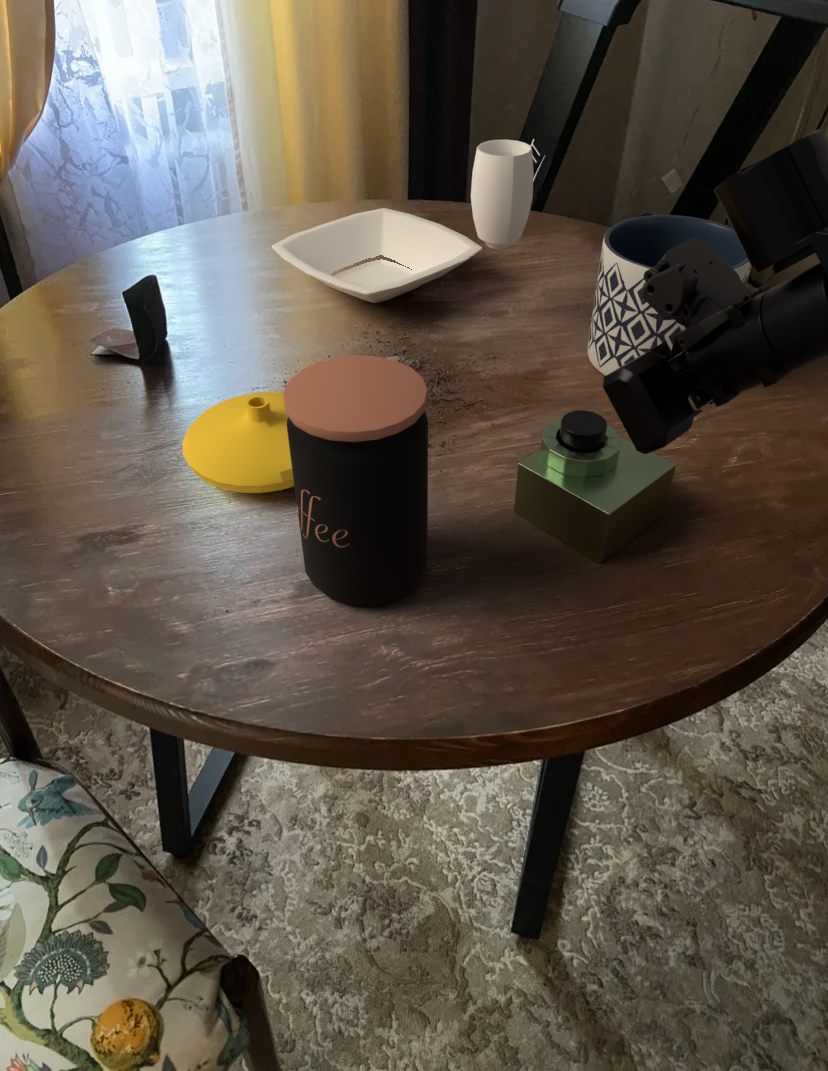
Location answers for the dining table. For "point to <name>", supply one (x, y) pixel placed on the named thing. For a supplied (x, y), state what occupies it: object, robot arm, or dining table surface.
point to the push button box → (592, 492)
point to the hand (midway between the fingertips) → (625, 402)
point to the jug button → (582, 431)
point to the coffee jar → (360, 476)
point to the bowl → (377, 252)
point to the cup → (501, 191)
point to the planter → (626, 254)
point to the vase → (242, 444)
